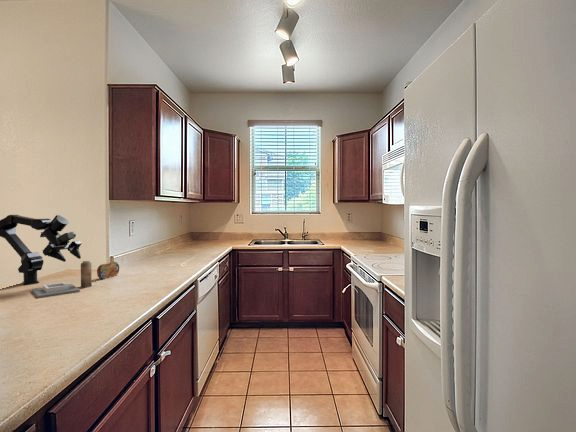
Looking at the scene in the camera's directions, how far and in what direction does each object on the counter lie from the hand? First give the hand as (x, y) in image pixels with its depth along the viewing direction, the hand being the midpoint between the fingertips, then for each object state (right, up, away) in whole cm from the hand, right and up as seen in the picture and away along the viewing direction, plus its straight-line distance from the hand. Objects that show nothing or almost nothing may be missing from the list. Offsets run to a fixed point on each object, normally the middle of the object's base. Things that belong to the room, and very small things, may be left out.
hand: (72, 259), depth 167 cm
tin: (+7, -13, +21) cm, 25 cm away
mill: (+8, -13, -1) cm, 16 cm away
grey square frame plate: (-1, -14, -11) cm, 18 cm away
